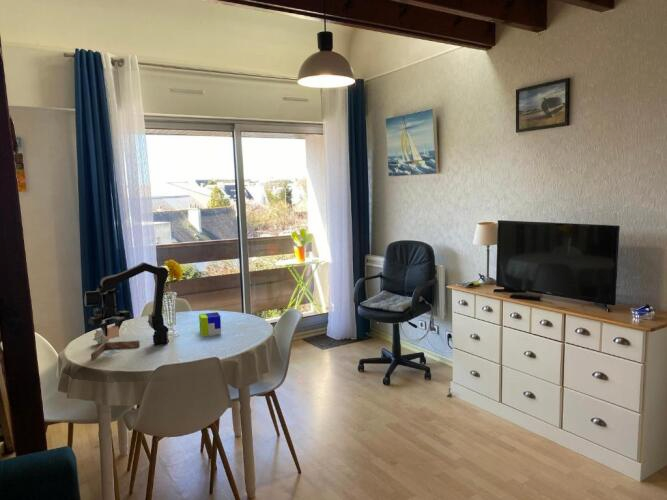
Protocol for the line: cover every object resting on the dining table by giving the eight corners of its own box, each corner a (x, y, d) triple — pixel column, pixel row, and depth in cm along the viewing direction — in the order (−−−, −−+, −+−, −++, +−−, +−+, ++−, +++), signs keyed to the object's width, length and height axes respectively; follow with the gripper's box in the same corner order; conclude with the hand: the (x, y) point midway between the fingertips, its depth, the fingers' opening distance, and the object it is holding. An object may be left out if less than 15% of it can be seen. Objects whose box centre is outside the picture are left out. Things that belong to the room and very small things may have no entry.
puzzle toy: (221, 334, 270) (220, 316, 269) (202, 336, 267) (201, 318, 265) (218, 329, 279) (217, 312, 278) (200, 331, 276) (199, 314, 275)
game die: (100, 352, 254) (86, 339, 249) (102, 341, 262) (89, 329, 256) (115, 343, 254) (102, 330, 249) (117, 333, 262) (104, 320, 256)
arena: (139, 346, 251) (139, 340, 251) (130, 358, 233) (129, 351, 232) (103, 348, 248) (103, 342, 248) (91, 360, 230) (90, 354, 230)
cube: (113, 334, 244) (112, 325, 244) (119, 336, 241) (118, 326, 241) (103, 337, 240) (103, 327, 240) (109, 339, 238) (108, 328, 237)
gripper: (118, 297, 251) (120, 328, 253) (81, 304, 236) (83, 336, 238) (130, 300, 245) (132, 331, 246) (93, 307, 230) (95, 340, 232)
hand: (111, 334), depth 241 cm, fingers closed on cube, 5 cm apart
